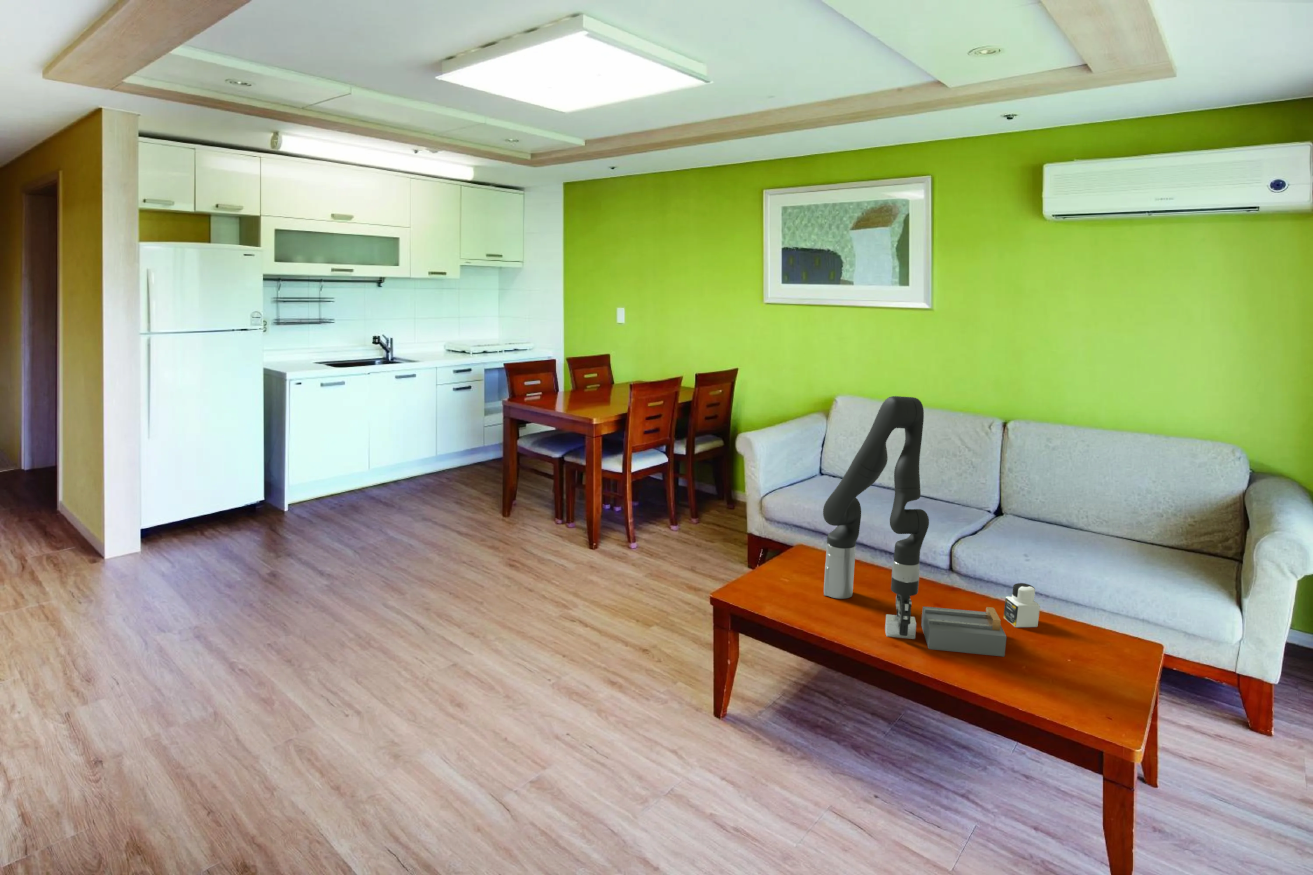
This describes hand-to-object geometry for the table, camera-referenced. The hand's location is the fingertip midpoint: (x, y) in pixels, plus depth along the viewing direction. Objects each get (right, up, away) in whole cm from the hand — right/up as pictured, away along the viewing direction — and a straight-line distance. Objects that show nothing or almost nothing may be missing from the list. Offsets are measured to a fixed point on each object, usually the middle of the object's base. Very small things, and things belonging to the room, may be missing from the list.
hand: (901, 628), depth 226 cm
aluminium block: (0, -2, +1) cm, 2 cm away
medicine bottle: (+39, -1, +10) cm, 40 cm away
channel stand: (+16, -3, -3) cm, 17 cm away
